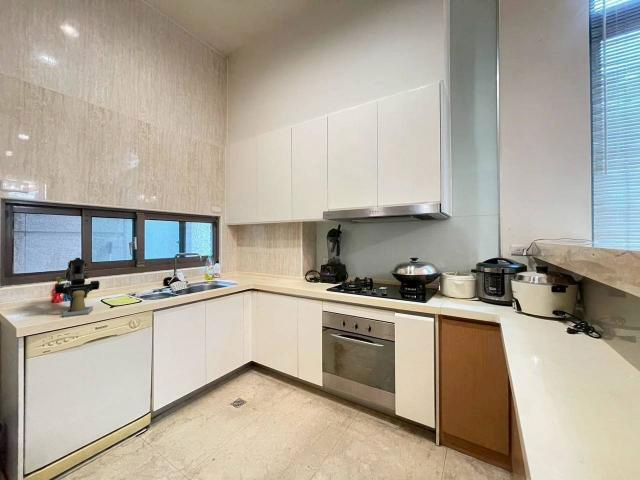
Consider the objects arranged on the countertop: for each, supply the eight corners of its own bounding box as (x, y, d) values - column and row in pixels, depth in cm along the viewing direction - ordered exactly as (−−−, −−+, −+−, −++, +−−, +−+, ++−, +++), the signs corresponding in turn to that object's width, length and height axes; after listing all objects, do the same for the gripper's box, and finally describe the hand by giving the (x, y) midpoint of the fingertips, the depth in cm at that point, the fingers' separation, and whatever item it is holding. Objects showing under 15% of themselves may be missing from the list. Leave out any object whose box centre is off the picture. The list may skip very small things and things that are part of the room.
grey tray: (69, 312, 149) (69, 308, 149) (92, 310, 154) (92, 306, 154) (62, 317, 140) (62, 313, 140) (88, 314, 145) (88, 310, 145)
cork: (82, 310, 145) (82, 291, 145) (68, 311, 143) (69, 292, 143) (87, 308, 151) (87, 289, 151) (74, 309, 149) (74, 290, 149)
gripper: (55, 269, 143) (55, 292, 135) (99, 267, 157) (101, 288, 149) (54, 282, 149) (55, 304, 141) (97, 278, 162) (99, 299, 154)
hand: (78, 298), depth 146 cm, fingers closed on cork, 5 cm apart
